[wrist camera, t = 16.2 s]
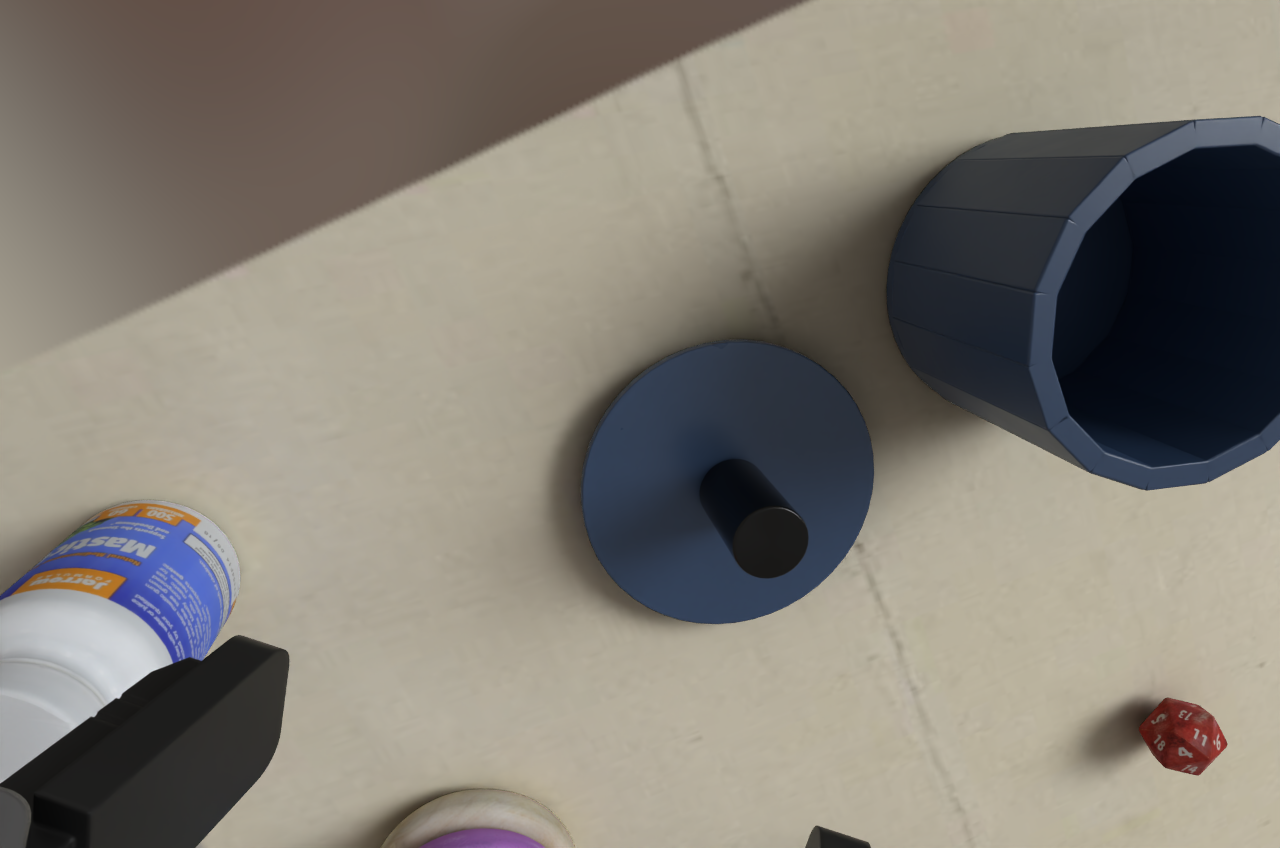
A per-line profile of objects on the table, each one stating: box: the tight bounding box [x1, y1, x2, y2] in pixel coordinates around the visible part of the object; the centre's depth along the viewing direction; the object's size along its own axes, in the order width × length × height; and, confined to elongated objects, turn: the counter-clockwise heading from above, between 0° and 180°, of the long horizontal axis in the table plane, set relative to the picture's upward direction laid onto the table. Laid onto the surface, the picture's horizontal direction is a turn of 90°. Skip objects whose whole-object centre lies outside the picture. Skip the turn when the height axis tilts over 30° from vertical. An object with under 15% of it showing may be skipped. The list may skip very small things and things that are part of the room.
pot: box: [887, 116, 1280, 490], centre depth 26 cm, size 10×10×8 cm
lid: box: [581, 339, 874, 624], centre depth 28 cm, size 11×11×6 cm
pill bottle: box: [0, 500, 240, 783], centre depth 24 cm, size 5×5×10 cm
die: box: [1139, 698, 1227, 775], centre depth 36 cm, size 3×3×3 cm
